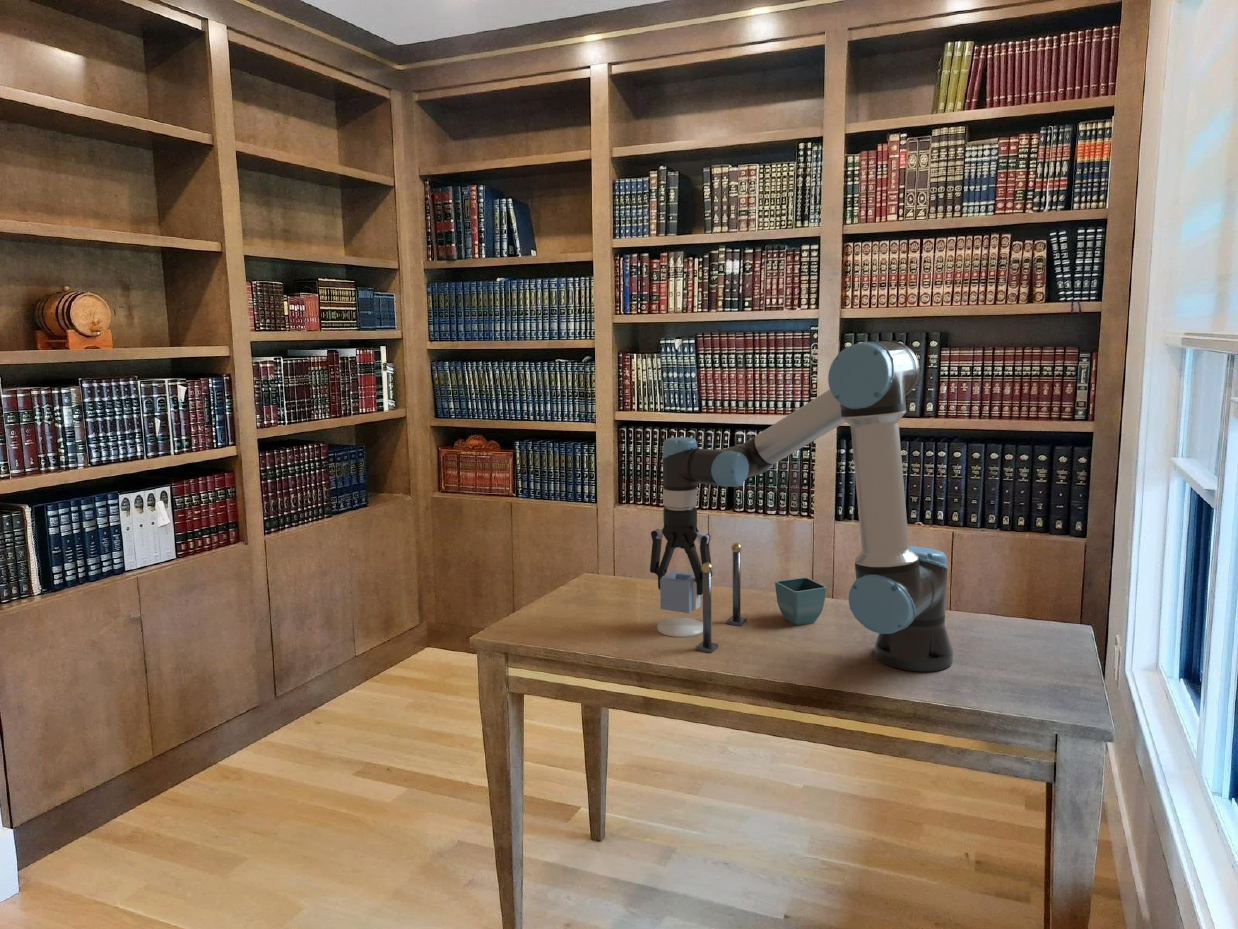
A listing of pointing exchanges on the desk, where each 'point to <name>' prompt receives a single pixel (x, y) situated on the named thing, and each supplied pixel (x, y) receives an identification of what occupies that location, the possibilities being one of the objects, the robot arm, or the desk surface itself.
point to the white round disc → (680, 627)
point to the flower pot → (800, 599)
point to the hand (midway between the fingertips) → (681, 605)
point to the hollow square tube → (677, 592)
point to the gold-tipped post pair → (733, 620)
